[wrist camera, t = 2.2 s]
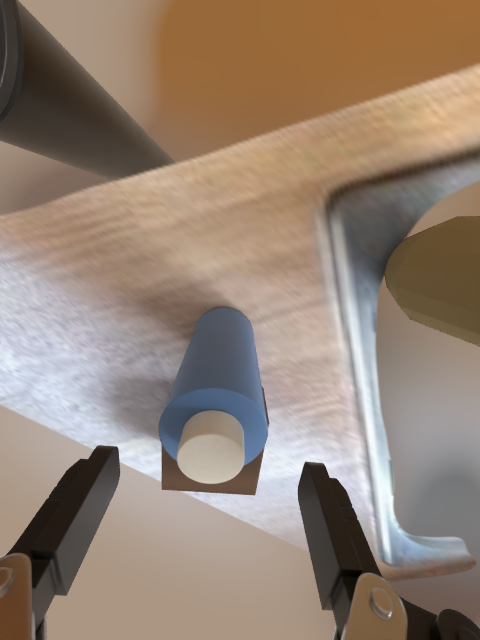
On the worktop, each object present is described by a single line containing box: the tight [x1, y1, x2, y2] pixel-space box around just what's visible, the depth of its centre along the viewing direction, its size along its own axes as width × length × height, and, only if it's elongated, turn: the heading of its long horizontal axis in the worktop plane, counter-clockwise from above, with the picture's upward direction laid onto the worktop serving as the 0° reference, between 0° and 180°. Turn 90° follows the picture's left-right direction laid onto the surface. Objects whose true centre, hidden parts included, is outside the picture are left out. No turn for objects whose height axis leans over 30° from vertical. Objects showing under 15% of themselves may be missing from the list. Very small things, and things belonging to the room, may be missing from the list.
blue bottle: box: [159, 307, 268, 484], centre depth 17 cm, size 5×5×14 cm
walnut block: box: [162, 384, 269, 495], centre depth 25 cm, size 9×9×5 cm
